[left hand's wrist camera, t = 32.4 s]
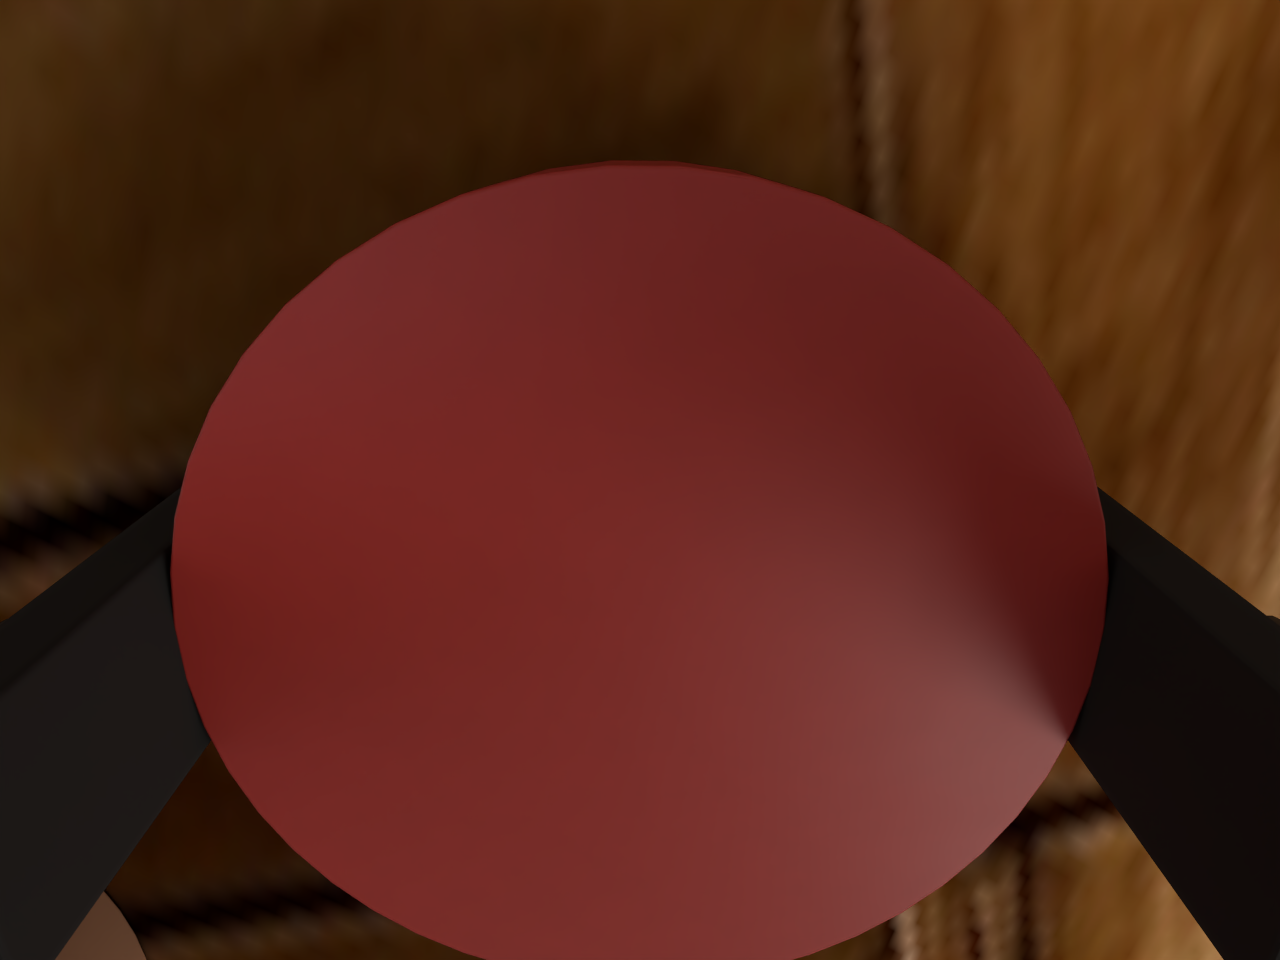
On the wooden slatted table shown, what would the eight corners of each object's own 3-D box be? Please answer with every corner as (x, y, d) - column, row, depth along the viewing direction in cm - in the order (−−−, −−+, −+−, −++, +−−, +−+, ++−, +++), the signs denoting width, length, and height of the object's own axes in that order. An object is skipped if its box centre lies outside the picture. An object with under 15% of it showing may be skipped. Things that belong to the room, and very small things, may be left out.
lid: (665, 980, 15) (669, 1089, 13) (88, 610, 12) (-2, 688, 10) (1206, 552, 12) (1302, 622, 10) (596, -71, 9) (586, -119, 7)
